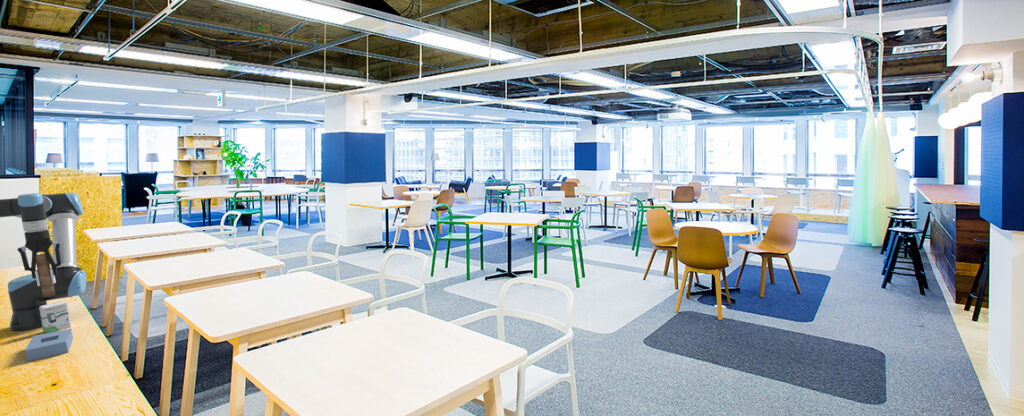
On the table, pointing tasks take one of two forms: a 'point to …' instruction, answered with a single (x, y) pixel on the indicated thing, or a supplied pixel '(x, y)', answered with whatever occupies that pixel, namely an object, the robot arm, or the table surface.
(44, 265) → the peg
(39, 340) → the socket block
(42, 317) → the ink box
